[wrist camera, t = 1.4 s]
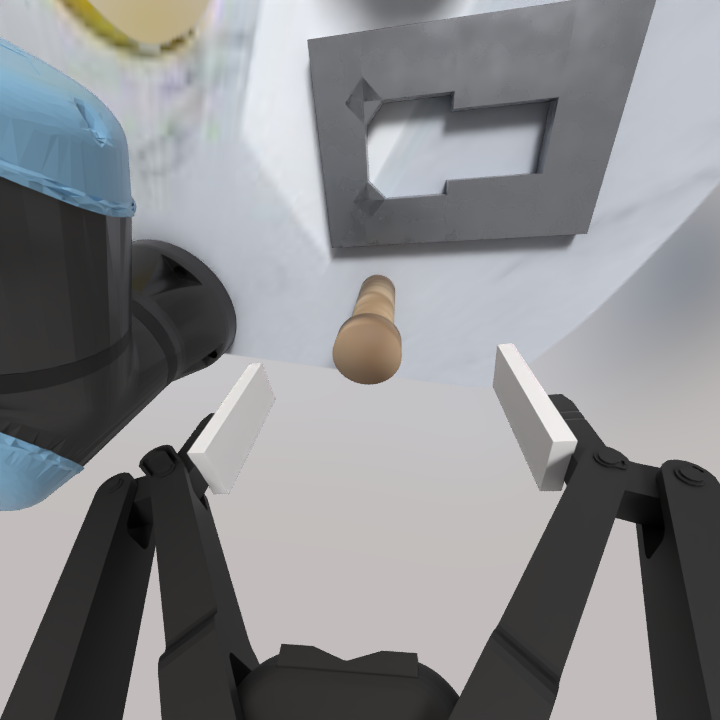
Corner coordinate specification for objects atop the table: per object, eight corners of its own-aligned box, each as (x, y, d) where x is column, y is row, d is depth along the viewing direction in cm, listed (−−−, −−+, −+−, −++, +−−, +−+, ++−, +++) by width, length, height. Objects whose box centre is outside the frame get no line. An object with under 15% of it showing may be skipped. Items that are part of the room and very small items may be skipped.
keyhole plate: (334, 244, 30) (332, 247, 29) (312, 46, 23) (307, 39, 21) (578, 230, 27) (586, 233, 26) (643, -2, 20) (659, -13, 19)
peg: (357, 313, 34) (336, 384, 23) (353, 270, 31) (328, 326, 20) (400, 312, 33) (401, 384, 22) (400, 267, 31) (401, 324, 20)
